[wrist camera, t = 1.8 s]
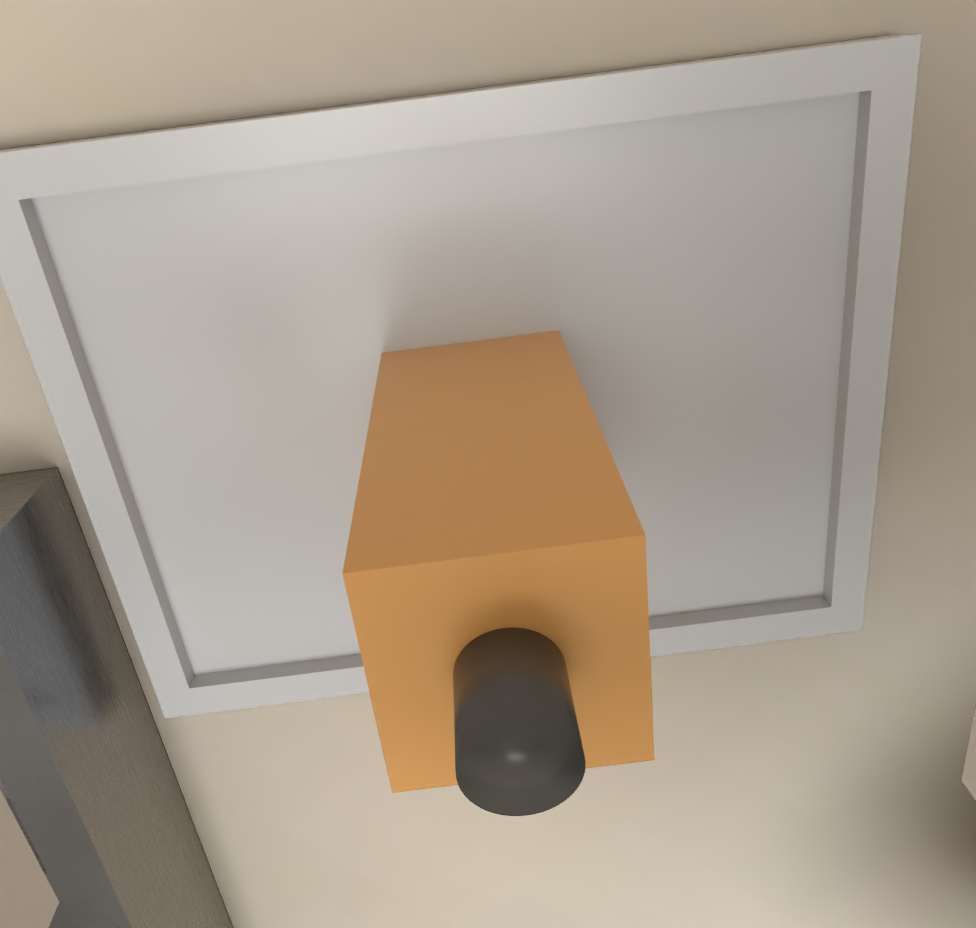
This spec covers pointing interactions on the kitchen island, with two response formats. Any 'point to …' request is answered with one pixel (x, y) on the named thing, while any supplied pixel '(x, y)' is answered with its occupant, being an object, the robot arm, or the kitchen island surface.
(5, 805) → the robot arm
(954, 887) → the kitchen island surface
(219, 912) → the grey bottle rack
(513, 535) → the orange square bottle
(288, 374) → the tray
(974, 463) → the kitchen island surface
